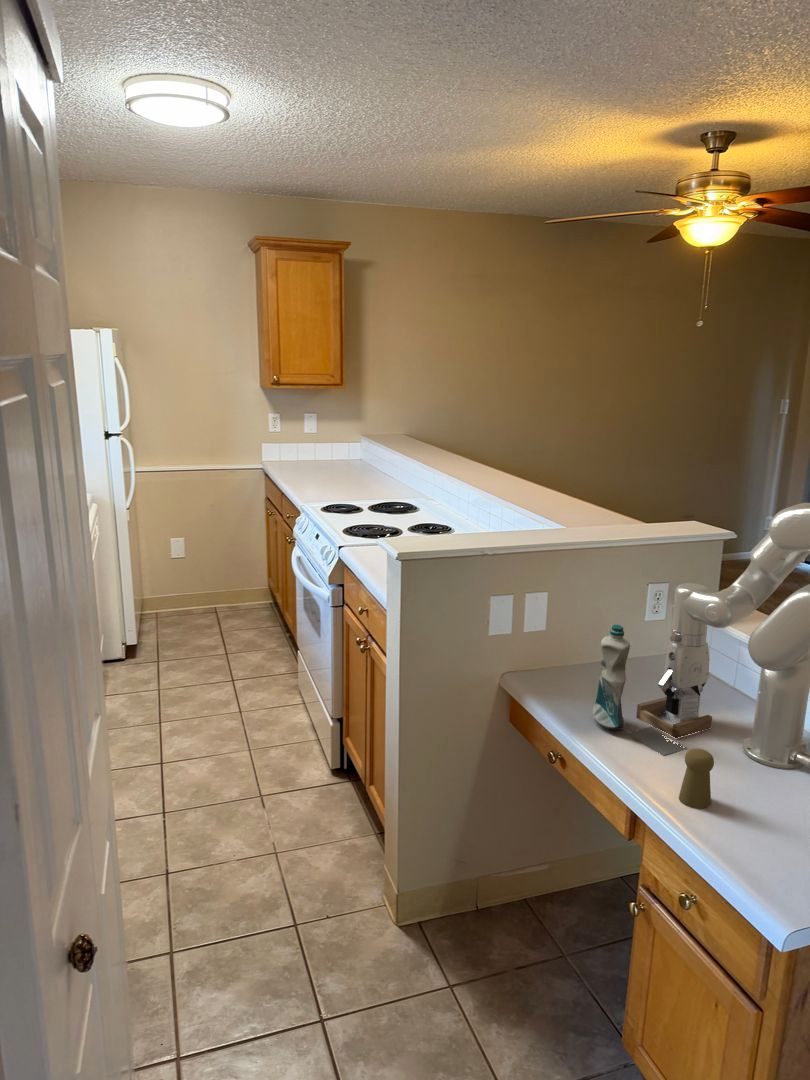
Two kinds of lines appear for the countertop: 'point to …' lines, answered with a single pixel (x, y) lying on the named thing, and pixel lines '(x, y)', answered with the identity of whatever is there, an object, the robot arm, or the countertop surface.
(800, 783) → the countertop surface
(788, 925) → the countertop surface
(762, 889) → the countertop surface
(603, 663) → the detergent
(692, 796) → the olive pawn figure
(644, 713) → the frame
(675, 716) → the medicine box
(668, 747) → the stand pad
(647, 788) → the countertop surface
